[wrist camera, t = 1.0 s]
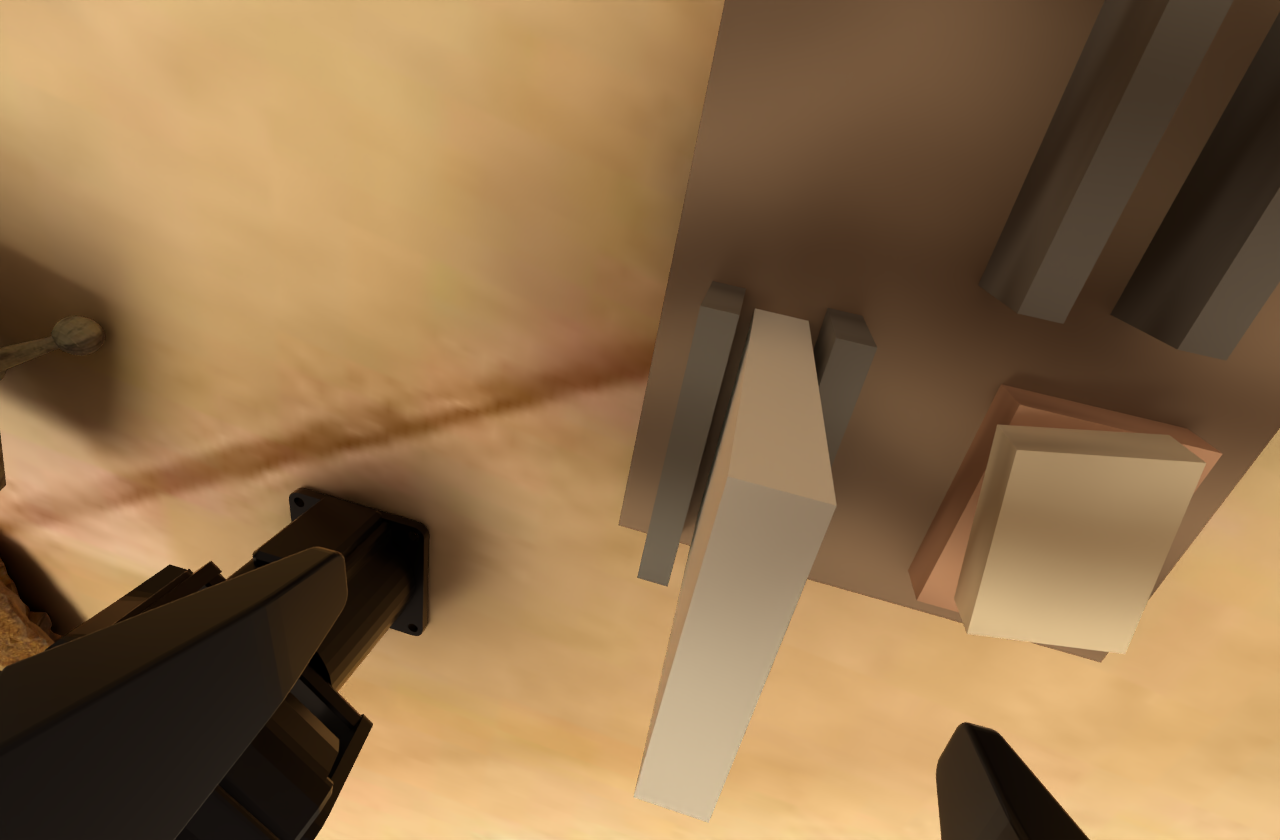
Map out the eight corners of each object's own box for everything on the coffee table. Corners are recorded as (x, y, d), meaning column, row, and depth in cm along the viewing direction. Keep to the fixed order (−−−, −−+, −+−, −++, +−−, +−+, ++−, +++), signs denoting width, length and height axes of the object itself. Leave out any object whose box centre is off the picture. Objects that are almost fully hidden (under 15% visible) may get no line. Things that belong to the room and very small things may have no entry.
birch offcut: (1099, 616, 18) (1125, 654, 16) (953, 598, 18) (967, 634, 17) (1169, 434, 15) (1206, 462, 14) (997, 424, 16) (1016, 449, 15)
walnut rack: (1080, 630, 21) (1149, 741, 17) (627, 503, 23) (595, 577, 19) (1573, -58, 12) (1951, -154, 8) (768, -174, 14) (763, -297, 10)
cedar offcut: (1061, 612, 20) (1081, 647, 18) (908, 570, 20) (916, 600, 19) (1186, 428, 16) (1222, 453, 15) (1000, 384, 17) (1019, 404, 16)
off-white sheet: (739, 535, 21) (708, 822, 12) (695, 523, 21) (633, 797, 12) (808, 321, 17) (836, 505, 9) (754, 308, 18) (728, 476, 9)
